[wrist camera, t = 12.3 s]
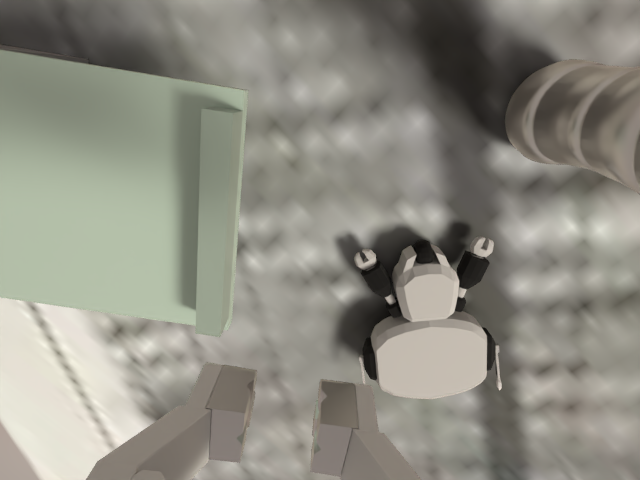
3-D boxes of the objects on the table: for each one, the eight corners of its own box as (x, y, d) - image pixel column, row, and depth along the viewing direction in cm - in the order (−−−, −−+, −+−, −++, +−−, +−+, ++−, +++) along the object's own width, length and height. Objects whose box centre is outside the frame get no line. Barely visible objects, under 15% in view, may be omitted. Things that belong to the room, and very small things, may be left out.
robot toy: (346, 238, 33) (361, 377, 37) (347, 256, 29) (365, 410, 33) (486, 222, 32) (485, 367, 36) (510, 239, 28) (505, 400, 32)
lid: (-38, 43, 19) (-100, 35, 16) (248, 90, 20) (234, 90, 17) (12, 289, 25) (-28, 314, 22) (231, 321, 25) (219, 350, 23)
